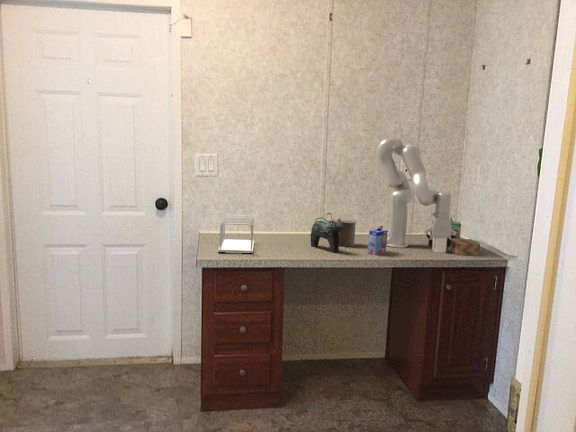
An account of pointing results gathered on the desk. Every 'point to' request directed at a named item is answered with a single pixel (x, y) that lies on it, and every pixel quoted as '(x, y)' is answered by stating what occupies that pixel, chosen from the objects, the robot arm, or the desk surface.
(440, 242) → the white rectangular block
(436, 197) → the robot arm
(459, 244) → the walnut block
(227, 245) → the file sorter
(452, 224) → the chalk box
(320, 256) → the desk surface
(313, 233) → the animal figurine
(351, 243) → the pillar candle
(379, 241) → the ink cartridge box
